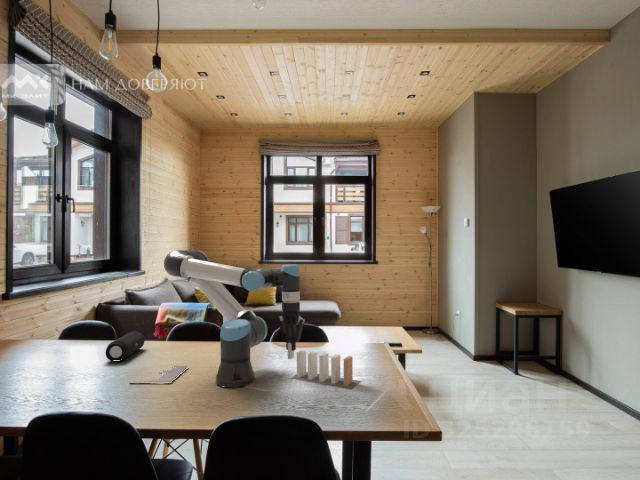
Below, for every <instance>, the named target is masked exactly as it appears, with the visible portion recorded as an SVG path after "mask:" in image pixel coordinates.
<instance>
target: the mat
mask: <svg viewBox="0 0 640 480" xmlns="http://www.w3.org/2000/svg"><path fill="white" fill-rule="evenodd" d="M290 379H291V380H297V381H302V382H306V383H307V382H308V383H314V384H319V385H324V386H328V387H329V386H330V387H336V388H341V389H346V390H351V391H352V390H354V389H355V388H356V387H357V386H358V385H359V384H360V383H362V381H361V380H356V379H353V382H352V383H351V384H350V385H348V386H344V377H340V381H338V382H337V383H336V384H333V383H331V375H329V378H328V379H326V380H325V381H323V382H321V381H319V373H317V377H315V378H313V379H312V380H310V379H308V371H306V375H304V376H302V377H301V378H299V377H297V374H295V375H294V376H292V377H290Z"/></svg>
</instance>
